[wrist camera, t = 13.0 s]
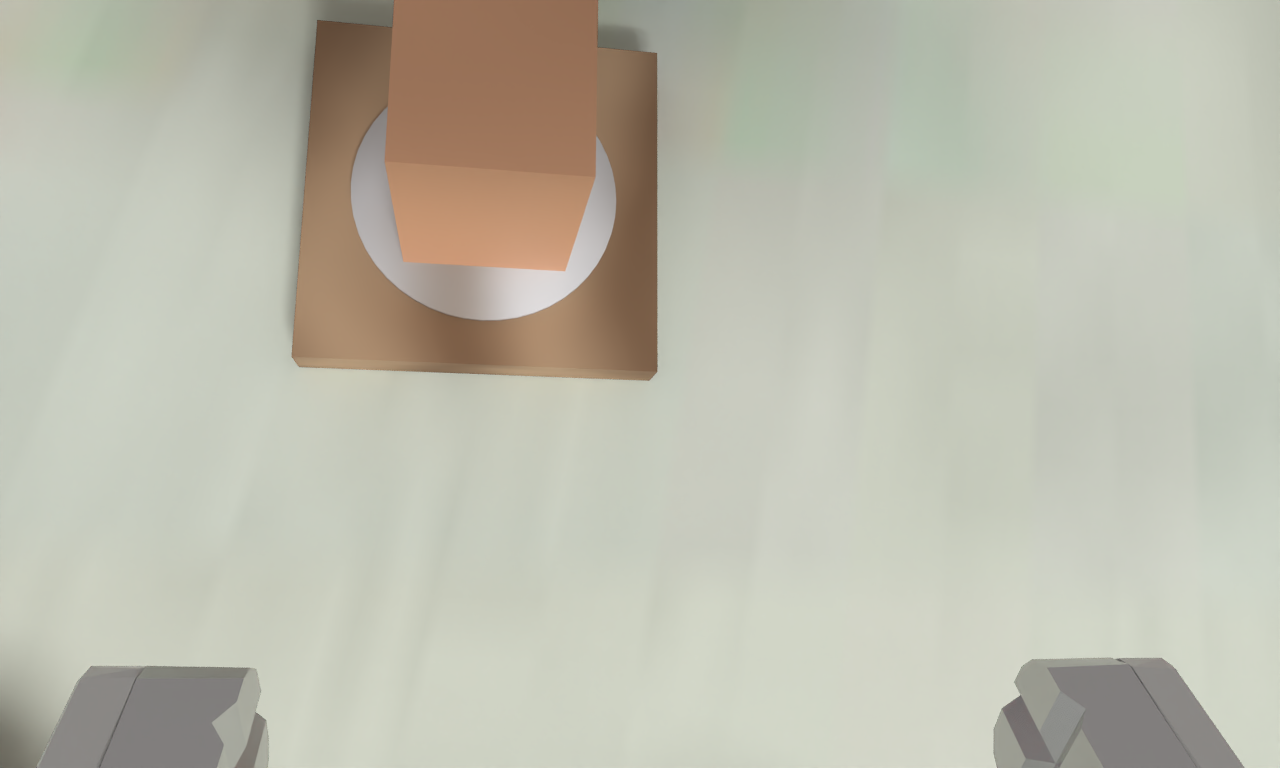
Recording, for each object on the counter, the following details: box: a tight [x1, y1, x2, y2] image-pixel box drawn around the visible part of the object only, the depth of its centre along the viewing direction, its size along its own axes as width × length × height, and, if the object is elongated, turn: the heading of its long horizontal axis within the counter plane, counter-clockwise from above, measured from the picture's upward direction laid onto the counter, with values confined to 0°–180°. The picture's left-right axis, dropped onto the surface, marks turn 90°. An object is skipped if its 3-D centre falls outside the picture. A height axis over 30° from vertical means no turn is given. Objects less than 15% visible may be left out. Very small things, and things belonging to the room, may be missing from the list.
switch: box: [292, 20, 657, 380], centre depth 33 cm, size 12×12×4 cm
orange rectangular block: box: [385, 0, 598, 271], centre depth 30 cm, size 5×5×8 cm
